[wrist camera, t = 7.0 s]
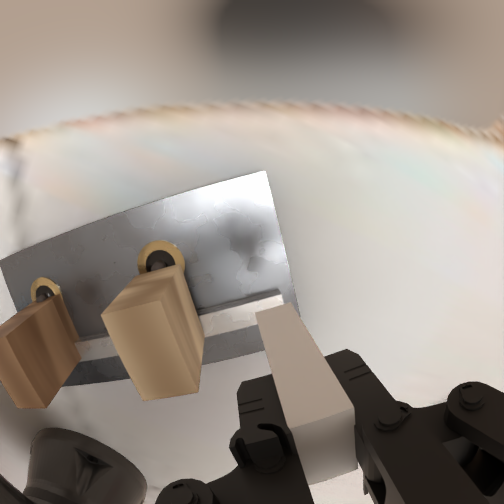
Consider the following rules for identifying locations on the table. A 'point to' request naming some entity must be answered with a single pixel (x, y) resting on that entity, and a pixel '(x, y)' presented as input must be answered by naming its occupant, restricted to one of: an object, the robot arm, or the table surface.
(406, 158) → the table surface
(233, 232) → the bolt plate
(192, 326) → the block
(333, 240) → the table surface
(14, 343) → the fixed leg
